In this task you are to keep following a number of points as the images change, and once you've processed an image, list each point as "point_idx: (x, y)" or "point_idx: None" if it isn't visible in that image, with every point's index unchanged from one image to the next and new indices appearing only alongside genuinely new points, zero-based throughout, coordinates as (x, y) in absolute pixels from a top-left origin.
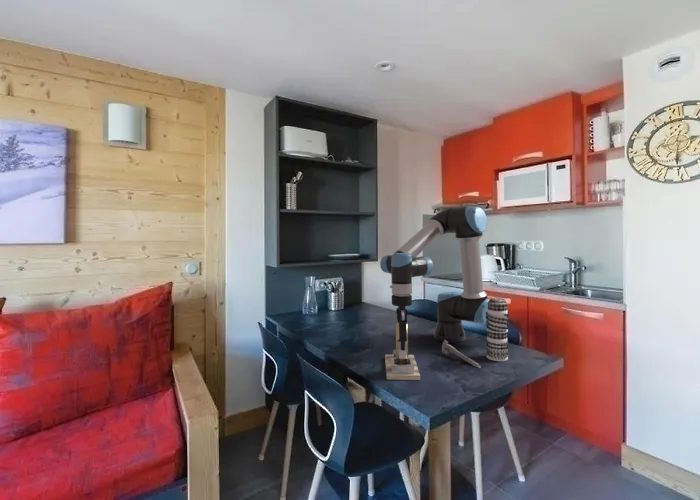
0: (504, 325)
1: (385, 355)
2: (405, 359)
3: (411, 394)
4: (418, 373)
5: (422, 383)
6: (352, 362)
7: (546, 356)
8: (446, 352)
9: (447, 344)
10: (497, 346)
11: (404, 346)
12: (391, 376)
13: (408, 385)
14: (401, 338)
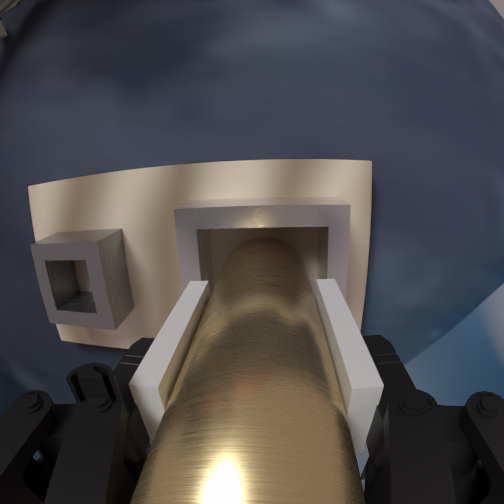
0: None
1: (70, 339)
2: (306, 278)
3: (496, 232)
4: (332, 166)
5: (404, 156)
6: None
7: None
8: (2, 29)
9: None
10: None
11: (399, 365)
12: (358, 327)
13: (425, 236)
14: (475, 465)
